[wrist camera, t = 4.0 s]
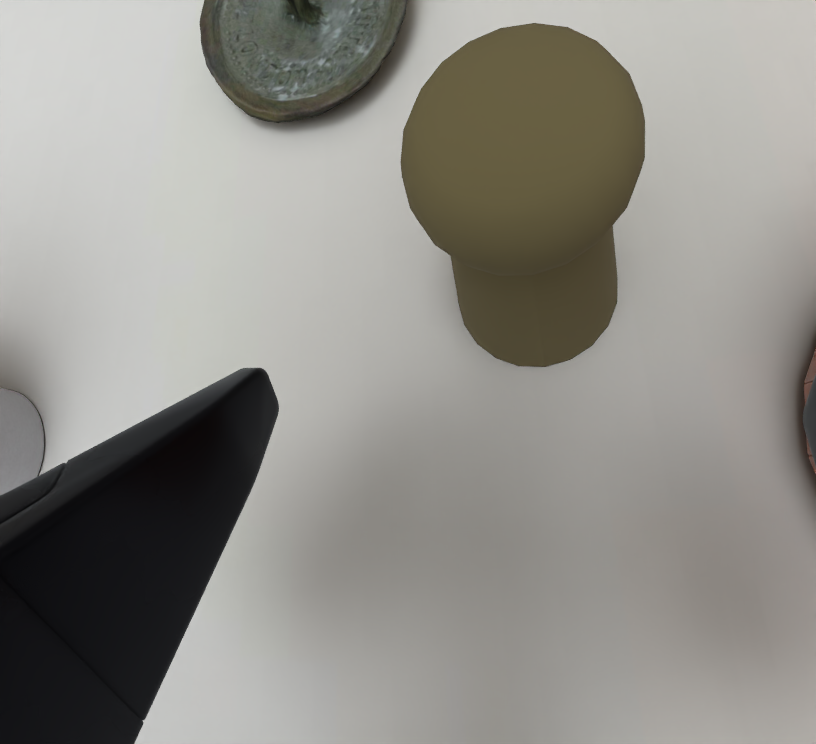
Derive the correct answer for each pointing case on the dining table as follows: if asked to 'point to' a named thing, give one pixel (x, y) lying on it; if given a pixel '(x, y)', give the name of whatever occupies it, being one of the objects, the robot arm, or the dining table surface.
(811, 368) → the bowl
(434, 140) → the olive game pawn
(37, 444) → the coffee cup
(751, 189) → the dining table surface
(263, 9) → the lid
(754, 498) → the dining table surface
